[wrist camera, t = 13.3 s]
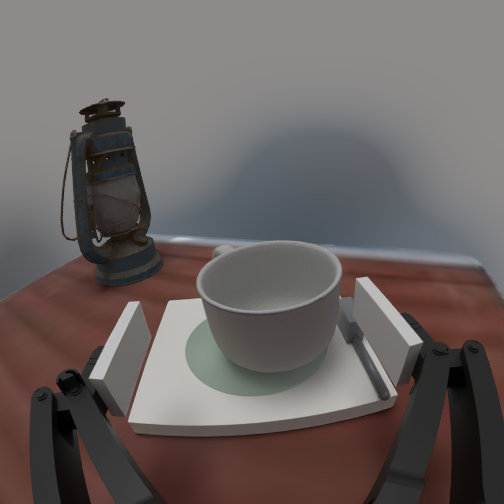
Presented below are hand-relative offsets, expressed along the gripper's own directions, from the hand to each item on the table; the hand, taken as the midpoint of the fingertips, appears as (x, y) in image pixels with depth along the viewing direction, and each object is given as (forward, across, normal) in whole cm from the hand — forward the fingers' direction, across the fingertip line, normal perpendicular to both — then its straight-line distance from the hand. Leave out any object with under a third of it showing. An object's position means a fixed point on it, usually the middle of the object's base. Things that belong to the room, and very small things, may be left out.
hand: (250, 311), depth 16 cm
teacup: (+7, +1, -8) cm, 10 cm away
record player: (+6, 0, -9) cm, 11 cm away
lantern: (+31, -21, -10) cm, 39 cm away
